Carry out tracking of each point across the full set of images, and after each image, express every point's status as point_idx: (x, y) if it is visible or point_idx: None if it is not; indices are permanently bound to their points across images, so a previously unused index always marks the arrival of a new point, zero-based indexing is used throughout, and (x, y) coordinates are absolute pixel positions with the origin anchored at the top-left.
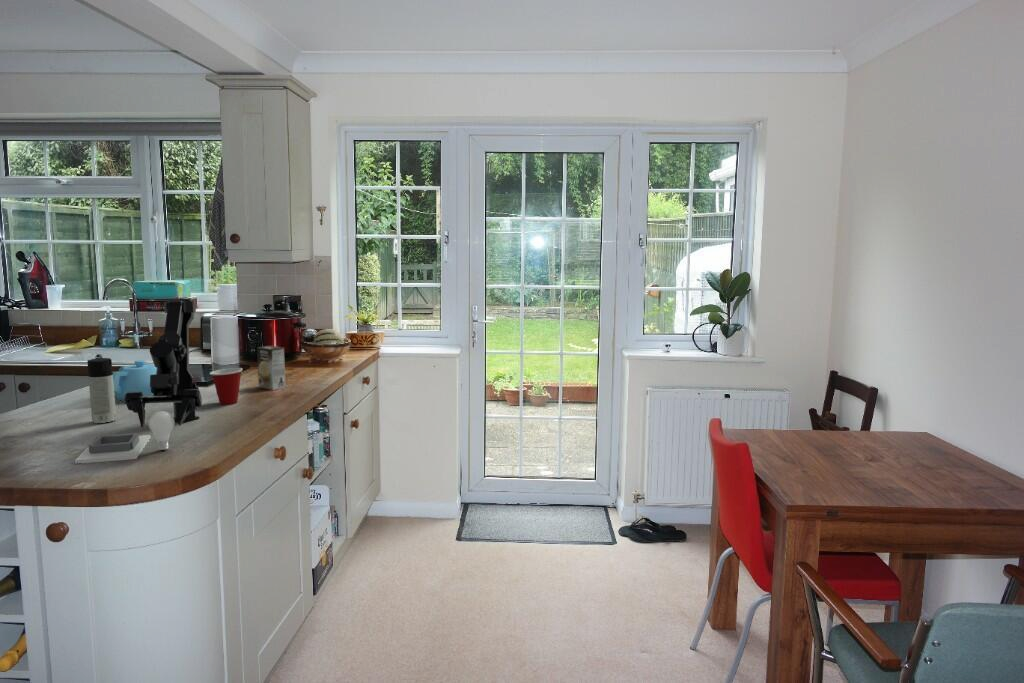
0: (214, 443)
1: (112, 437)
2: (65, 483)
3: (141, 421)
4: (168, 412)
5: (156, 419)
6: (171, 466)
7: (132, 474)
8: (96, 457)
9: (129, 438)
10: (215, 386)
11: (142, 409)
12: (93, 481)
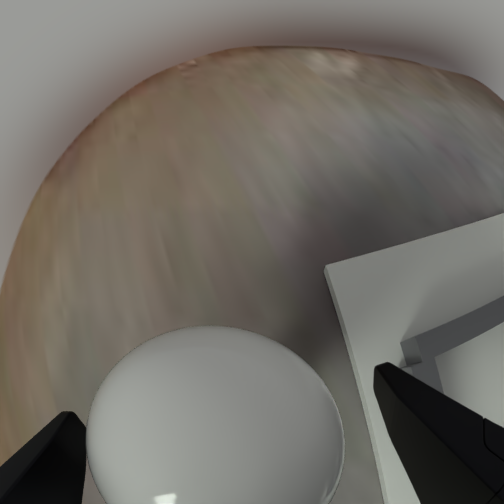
0: None
1: None
2: (389, 74)
3: (405, 383)
4: (109, 499)
5: (204, 332)
6: (136, 182)
7: (242, 114)
8: (473, 237)
9: None
10: None
11: (484, 499)
12: (327, 77)
